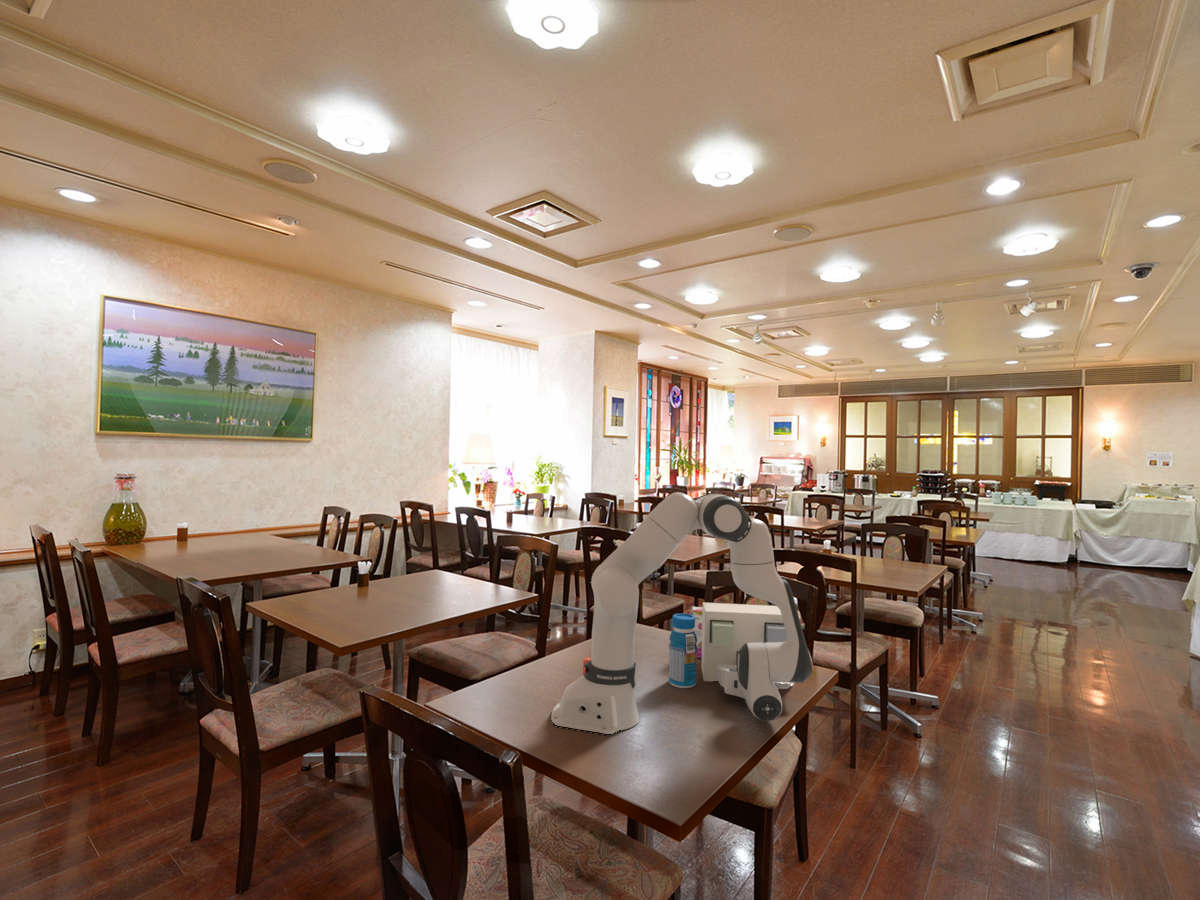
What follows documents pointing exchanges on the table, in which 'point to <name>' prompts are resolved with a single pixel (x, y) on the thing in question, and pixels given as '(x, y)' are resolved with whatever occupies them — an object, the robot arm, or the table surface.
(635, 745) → the table surface
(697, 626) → the candy bar box
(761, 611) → the button panel
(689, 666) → the beverage bottle
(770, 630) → the slate-blue button
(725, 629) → the sage-green button
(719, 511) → the robot arm
